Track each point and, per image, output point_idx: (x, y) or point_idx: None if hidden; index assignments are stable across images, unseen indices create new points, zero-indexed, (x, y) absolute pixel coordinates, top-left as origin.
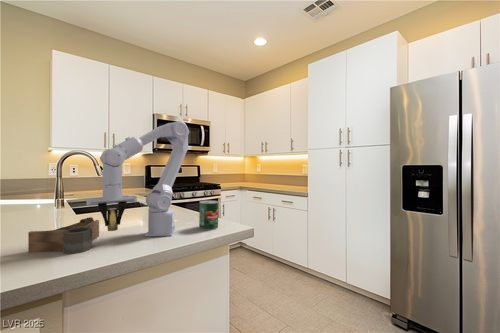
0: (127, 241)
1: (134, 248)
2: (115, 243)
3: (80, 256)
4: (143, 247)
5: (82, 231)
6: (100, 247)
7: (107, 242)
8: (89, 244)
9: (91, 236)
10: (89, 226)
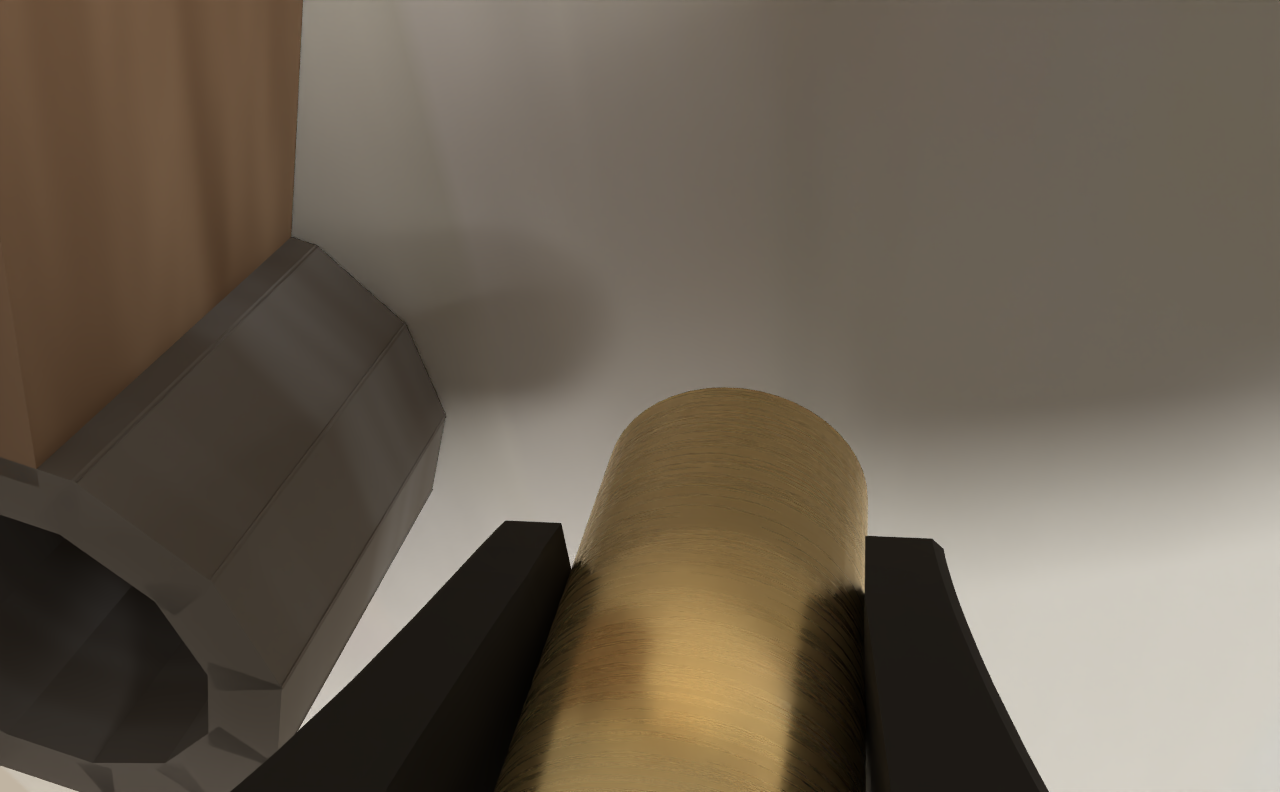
0: (1070, 350)
1: (1087, 726)
2: (820, 365)
3: None
4: (1231, 753)
5: (177, 764)
6: (578, 456)
7: (662, 225)
8: (400, 535)
9: (355, 575)
10: (40, 258)
